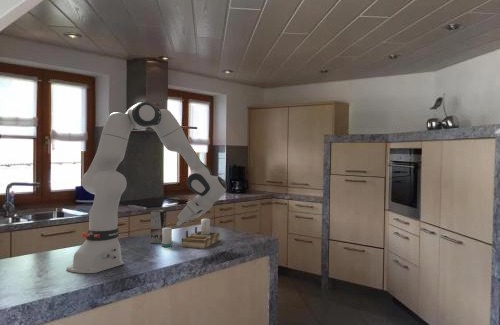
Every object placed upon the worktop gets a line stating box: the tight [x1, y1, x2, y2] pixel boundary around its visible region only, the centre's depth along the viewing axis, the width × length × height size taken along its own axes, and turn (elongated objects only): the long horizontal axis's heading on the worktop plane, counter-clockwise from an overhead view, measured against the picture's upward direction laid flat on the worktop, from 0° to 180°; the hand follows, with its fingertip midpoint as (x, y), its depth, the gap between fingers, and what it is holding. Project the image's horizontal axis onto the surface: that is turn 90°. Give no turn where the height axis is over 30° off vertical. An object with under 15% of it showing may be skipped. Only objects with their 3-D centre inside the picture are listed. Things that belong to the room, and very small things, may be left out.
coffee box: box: [150, 209, 167, 244], centre depth 208 cm, size 9×6×16 cm
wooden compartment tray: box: [181, 226, 221, 250], centre depth 204 cm, size 20×12×7 cm, turn 162°
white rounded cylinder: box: [161, 226, 173, 249], centre depth 196 cm, size 5×5×9 cm
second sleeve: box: [200, 218, 211, 235], centre depth 208 cm, size 5×5×9 cm
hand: (182, 223), depth 193 cm, fingers open, 8 cm apart
